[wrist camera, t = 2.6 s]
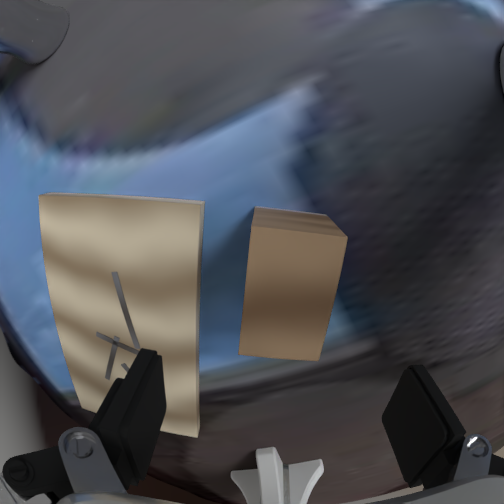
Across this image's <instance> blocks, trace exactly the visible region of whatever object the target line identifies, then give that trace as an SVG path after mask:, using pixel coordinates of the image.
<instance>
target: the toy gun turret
mask: <svg viewBox="0 0 504 504" xmlns="http://www.w3.org/2000/svg"><path fill="white" fill-rule="evenodd" d="M256 461H257V468H258V469H250V470H237V471H231V479H232V480H233V481H234V482H235V484H236V485H237V486H238V487H239V488H240V490H241V491H242V493H243V495H244V497H245V499H246V501H247V504H306V503H307V500H308V498H309V495H310V493H311V491H312V489H313V487H314V485H315V484H316V482H317V481H318V479H319V478H320V476H321V475H322V474H323V471H324V467H323V462H322V460H321V459H318V460H313V461H308V462H302V463H296V464H290V465H287V464H283V463H282V461H281V459H280V457H279V455H278V453H277V450H276V448H274V447H269V448H262V449H257V450H256Z"/></svg>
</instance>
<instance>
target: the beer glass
mask: <svg viewBox="0 0 504 504" xmlns="http://www.w3.org/2000/svg"><path fill="white" fill-rule="evenodd" d="M68 26H69V14H68V12H67V10H66V9H64V8H63V7H60V6H56V5H52V4H48V3H44V2H42V1H40V0H0V53H2V54H8V55H11V56H14V57H16V58H18V59H19V60H21V61H23V62H25V63H27V64H31V65H33V64H38V63H41V62H43V61H44V60H46V59H47V58H48V57H49V56H51V55H52V54H53V53H54V52H55V50H56V49H57V48H58V47H59V45H60V44H61V42H62V41H63V39H64V37H65V35H66V32H67V30H68Z"/></svg>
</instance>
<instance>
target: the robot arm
mask: <svg viewBox="0 0 504 504" xmlns="http://www.w3.org/2000/svg"><path fill="white" fill-rule="evenodd" d="M500 75H501V82H502V88H503V92H504V46H503V48H502V52H501V56H500ZM166 408H167V403H166V394H165V384H164V373H163V362H162V356H161V355H158V354H157V351H156V350H151V349H145V348H141V349H140V351H139V352H138V354H137V356H136V358H135V360H134V361H133V363H132V365H131V367H130V369H129V370H128V372H127V374H126V376H125V378H124V379H123V378H116V380H115V381H114V382H113V384H112V386H111V388H110V389H109V391H108V393H107V395H106V397H105V398H104V400H103V402H102V404H101V406H100V407H99V409H98V411H97V413H96V415H95V417H94V418H93V420H92V422H91V424H90V426H89V428H88V429H87V428H82V427H77V428H72V429H69V430H67V431H66V432H64V433H63V434H62V435H61V437H60V439H59V442H58V445H59V446H55V447H52V448H48V449H44V450H40V451H36V452H32V453H27V454H23V455H19V456H15V457H12V458H10V459H9V460H8V461H6V463H5V464H4V466H3V471H2V473H0V504H181V503H175V502H170V501H165V500H158V499H153V498H147V497H142V496H137V495H131V494H127V493H126V491H125V490H128V488H129V486H130V484H131V485H135V486H138V483H139V480H144V479H145V477H146V474H147V470H148V467H149V464H150V461H151V457H152V454H153V451H154V448H155V445H156V441H157V438H158V435H159V432H160V429H161V426H162V423H163V420H164V416H165V413H166ZM382 423H383V425H384V428H385V430H386V433H387V435H388V438H389V440H390V443H391V446H392V448H393V451H394V454H395V456H396V459H397V462H398V464H399V467H400V470H401V473H402V475H403V478H404V480H405V482H408V484H409V487H410V488H412V487H416V486H420V485H421V484H423V486H424V488H423V491H420V492H416V493H413V494H409V495H405V496H401V497H396V498H392V499H388V500H383V501H377V502H372V503H366V504H504V458H501V457H499V456H496V455H494V454H491V453H492V447H491V444H490V442H489V441H488V440H487V439H486V438H485V437H483V436H481V435H478V434H471V435H469V436H467V437H466V438H465V437H464V435H465V433H466V431H465V429H464V427H463V426H462V424H461V422H460V421H459V419H458V418H457V416H456V414H455V413H454V411H453V410H452V408H451V406H450V405H449V403H448V402H447V400H446V399H445V397H444V395H443V394H442V392H441V391H440V389H439V388H438V386H437V385H436V383H435V382H434V380H433V379H432V377H431V376H430V374H429V373H428V371H427V370H426V368H425V367H424V366H423V365H411V366H409V367H408V368H407V369H406V370H404V372H403V374H402V376H401V378H400V381H399V383H398V385H397V387H396V389H395V391H394V393H393V395H392V397H391V399H390V401H389V403H388V405H387V407H386V409H385V411H384V413H383V415H382Z"/></svg>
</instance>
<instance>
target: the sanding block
mask: <svg viewBox="0 0 504 504" xmlns="http://www.w3.org/2000/svg"><path fill="white" fill-rule="evenodd" d="M347 239H348V237H347V236H346V235H345V234H344V233H343V232H342V231H341V230H340V229H339V228H338V227H337V226H336V224H335V223H334V222H333V221H332V220H331V219H330V218H329V217H328V216H327V215H325V214H318V213H310V212H302V211H294V210H286V209H277V208H269V207H260V206H255V209H254V215H253V220H252V226H251V235H250V245H249V254H248V264H247V274H246V283H245V293H244V303H243V313H242V322H241V332H240V342H239V352H238V355H246V356H256V357H266V358H278V359H292V360H308V361H319V357H320V354H321V350H322V346H323V343H324V339H325V335H326V332H327V328H328V324H329V320H330V316H331V312H332V308H333V304H334V300H335V295H336V291H337V287H338V282H339V278H340V273H341V269H342V264H343V259H344V254H345V249H346V244H347Z"/></svg>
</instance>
